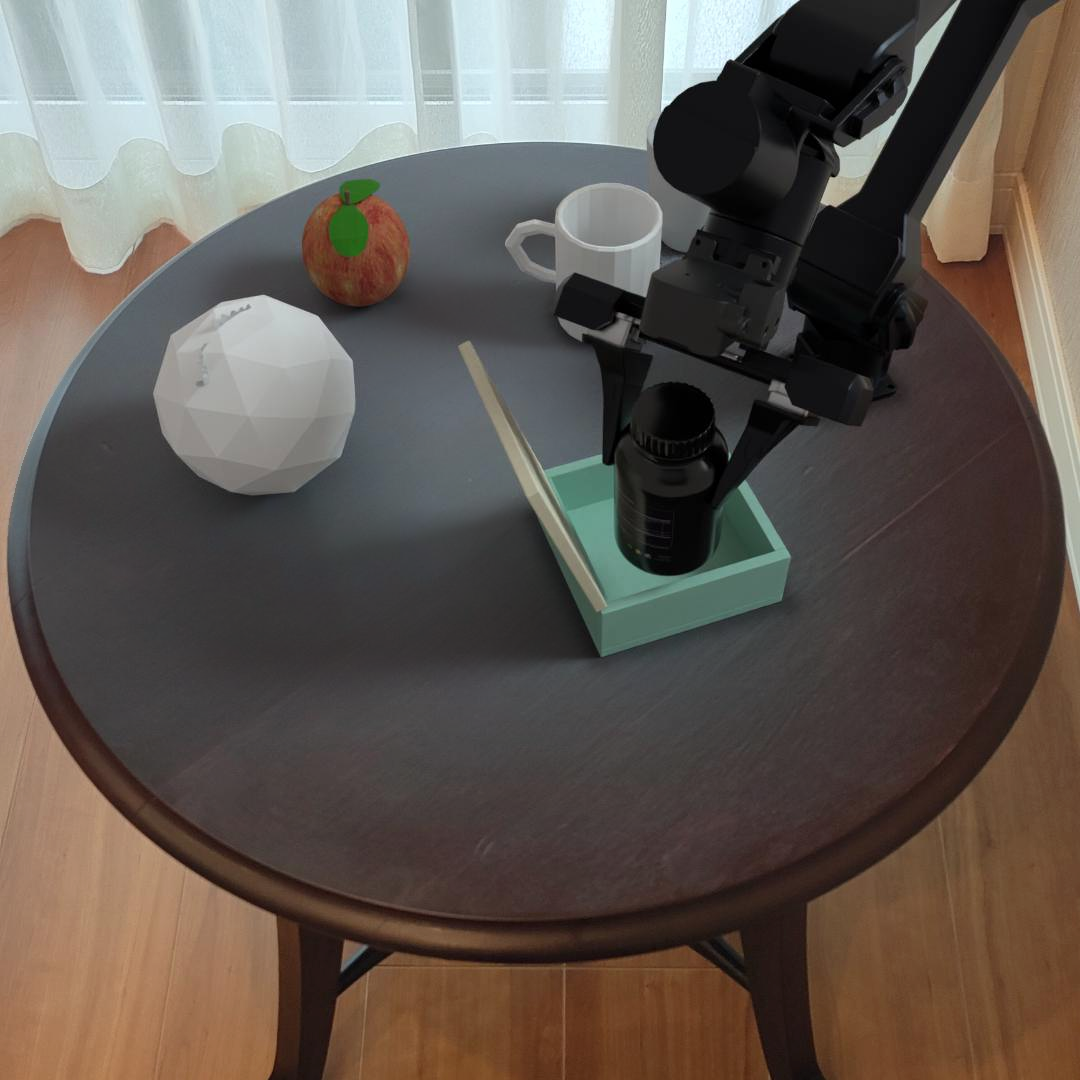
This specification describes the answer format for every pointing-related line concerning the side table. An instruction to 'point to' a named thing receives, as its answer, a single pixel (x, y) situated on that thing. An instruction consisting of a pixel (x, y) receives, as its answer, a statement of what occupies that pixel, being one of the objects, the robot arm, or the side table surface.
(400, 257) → the fruit
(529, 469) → the lid
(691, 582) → the teal shallow box
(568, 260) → the mug
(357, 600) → the side table surface
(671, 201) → the cup
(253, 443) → the geodesic sphere
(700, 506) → the supplement bottle
